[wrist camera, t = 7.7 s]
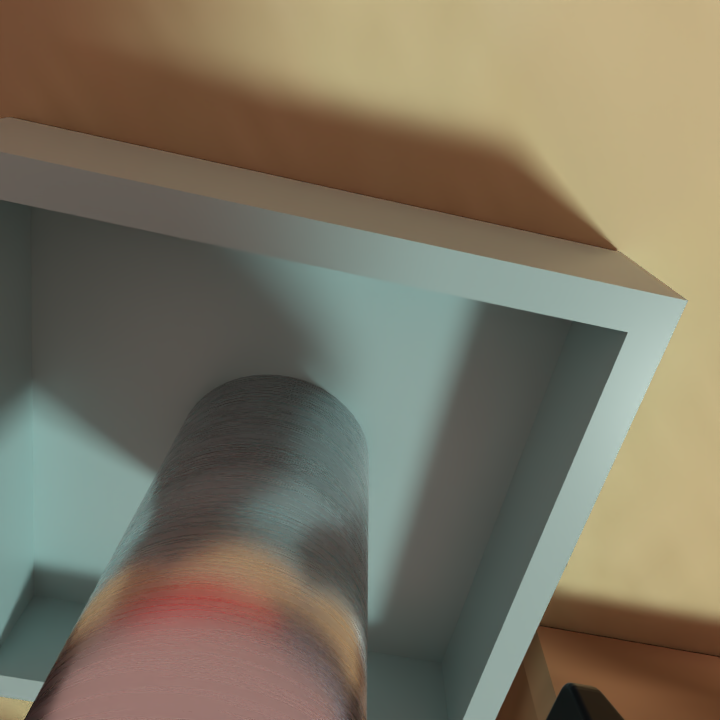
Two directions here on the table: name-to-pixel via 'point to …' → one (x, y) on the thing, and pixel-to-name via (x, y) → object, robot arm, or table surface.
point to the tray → (317, 366)
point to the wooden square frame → (614, 677)
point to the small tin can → (234, 573)
